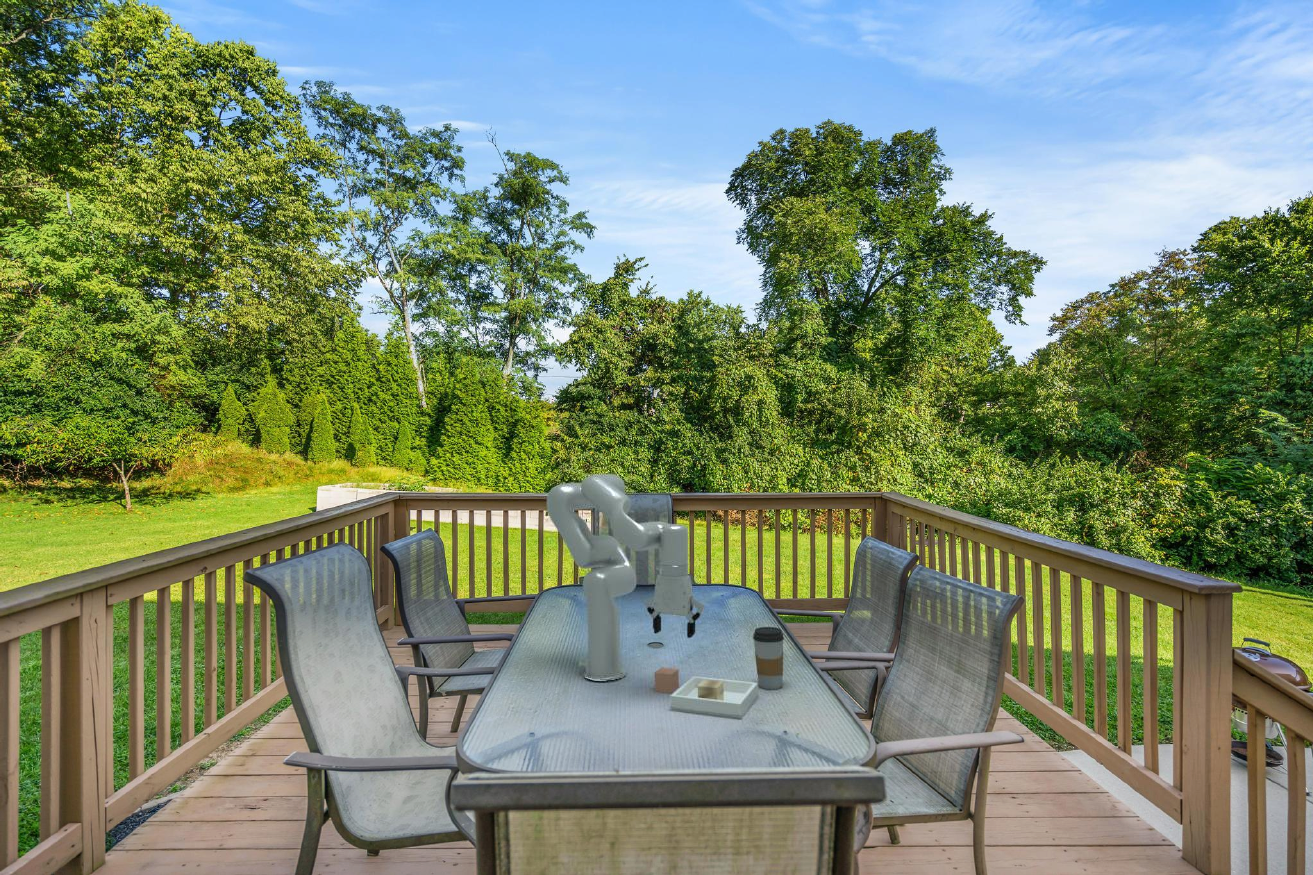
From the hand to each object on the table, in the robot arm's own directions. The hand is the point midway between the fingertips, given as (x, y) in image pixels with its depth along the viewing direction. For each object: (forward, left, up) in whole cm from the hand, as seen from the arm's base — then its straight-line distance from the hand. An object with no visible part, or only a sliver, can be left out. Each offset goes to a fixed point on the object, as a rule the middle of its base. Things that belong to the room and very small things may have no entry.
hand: (673, 634), depth 168 cm
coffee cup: (+22, +13, -16) cm, 30 cm away
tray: (+12, -4, -16) cm, 20 cm away
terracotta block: (-4, +2, -16) cm, 16 cm away
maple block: (+12, -7, -15) cm, 20 cm away
